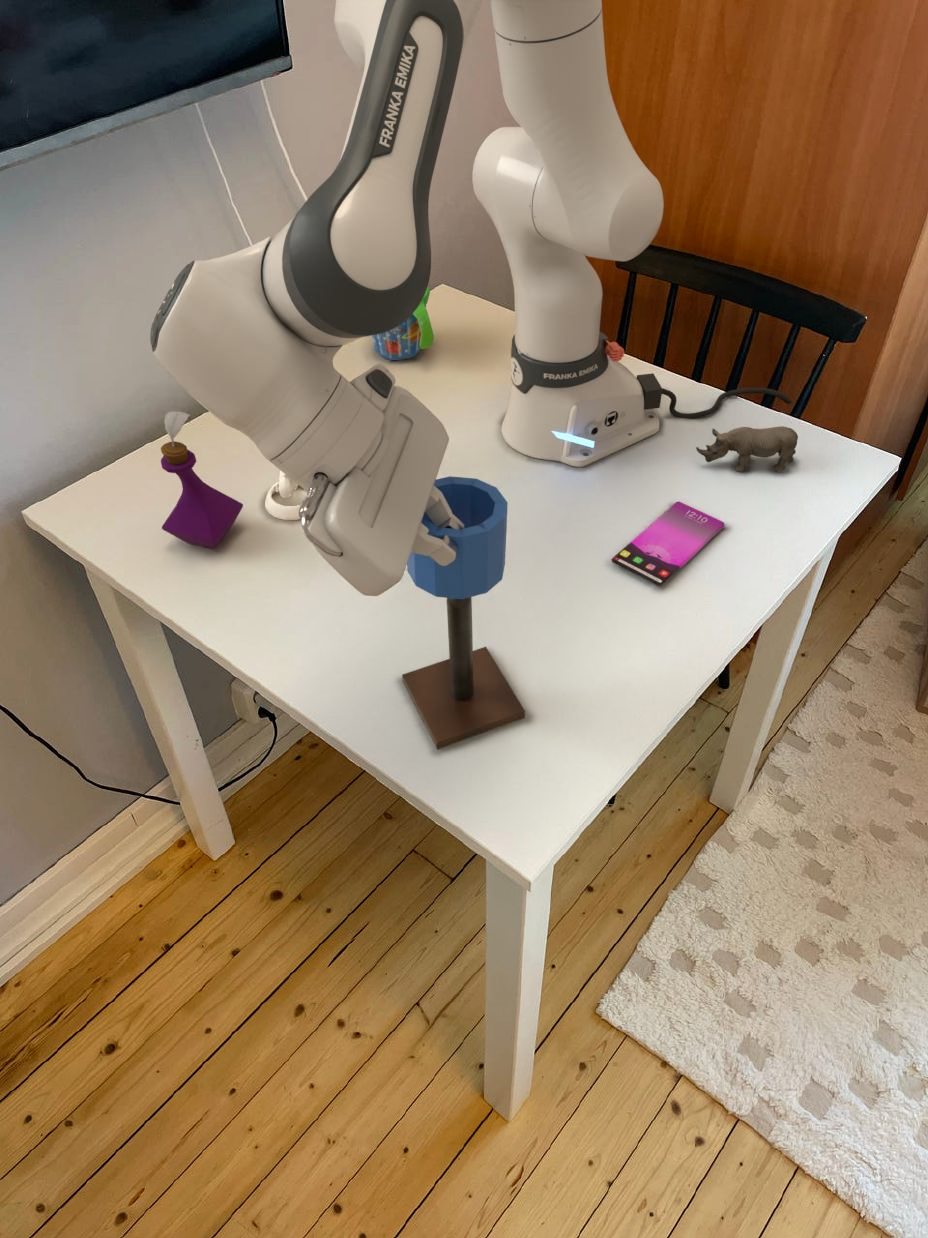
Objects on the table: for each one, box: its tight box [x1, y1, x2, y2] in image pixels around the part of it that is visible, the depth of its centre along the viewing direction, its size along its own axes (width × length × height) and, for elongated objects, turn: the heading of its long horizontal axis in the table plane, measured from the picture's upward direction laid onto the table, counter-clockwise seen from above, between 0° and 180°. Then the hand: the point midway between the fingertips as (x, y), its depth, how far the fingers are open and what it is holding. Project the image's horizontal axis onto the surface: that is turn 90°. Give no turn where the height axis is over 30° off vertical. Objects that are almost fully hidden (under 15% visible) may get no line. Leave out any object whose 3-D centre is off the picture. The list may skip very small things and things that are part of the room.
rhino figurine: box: [695, 425, 799, 473], centre depth 128 cm, size 4×14×6 cm, turn 89°
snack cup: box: [370, 285, 435, 361], centre depth 149 cm, size 16×10×10 cm
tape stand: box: [401, 597, 526, 750], centre depth 97 cm, size 10×10×16 cm
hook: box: [264, 469, 302, 521], centre depth 124 cm, size 8×12×7 cm
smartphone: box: [611, 501, 725, 587], centre depth 119 cm, size 7×15×1 cm, turn 139°
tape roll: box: [406, 476, 509, 599], centre depth 86 cm, size 9×9×7 cm
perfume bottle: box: [160, 410, 244, 550], centre depth 116 cm, size 8×8×18 cm
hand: (455, 546), depth 82 cm, fingers closed on tape roll
